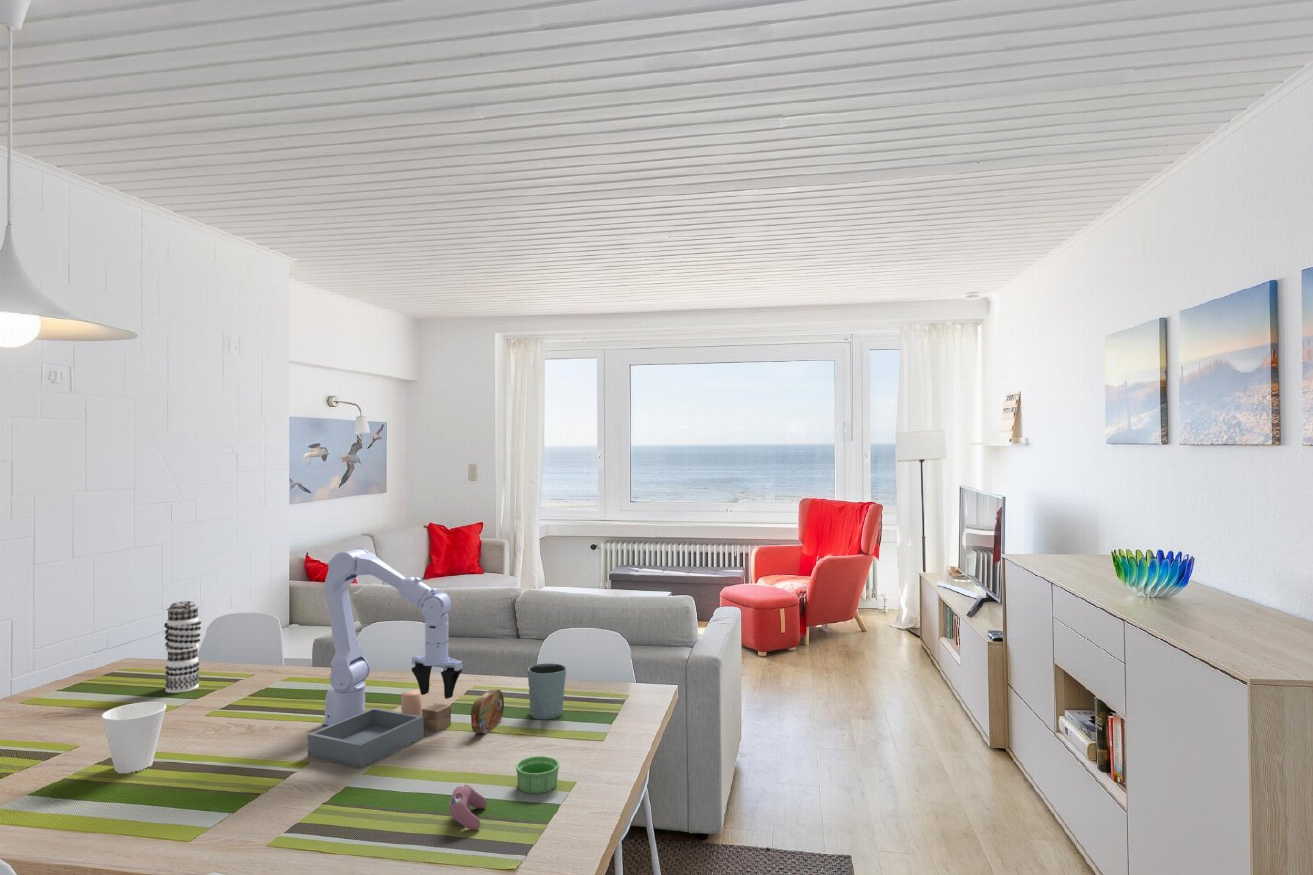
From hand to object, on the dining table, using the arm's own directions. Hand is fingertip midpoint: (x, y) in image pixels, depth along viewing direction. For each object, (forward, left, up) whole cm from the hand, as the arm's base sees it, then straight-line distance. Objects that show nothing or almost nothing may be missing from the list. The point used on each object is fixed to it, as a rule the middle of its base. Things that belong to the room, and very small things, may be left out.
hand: (436, 695), depth 193 cm
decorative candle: (-89, -6, -8) cm, 90 cm away
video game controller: (+38, -36, -8) cm, 53 cm away
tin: (+12, +5, -8) cm, 15 cm away
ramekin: (+42, -18, -8) cm, 46 cm away
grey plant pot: (+20, +20, -8) cm, 29 cm away
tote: (-6, -17, -8) cm, 20 cm away
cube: (0, 0, -8) cm, 8 cm away
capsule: (-9, +1, -8) cm, 12 cm away
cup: (-44, -47, -8) cm, 65 cm away
